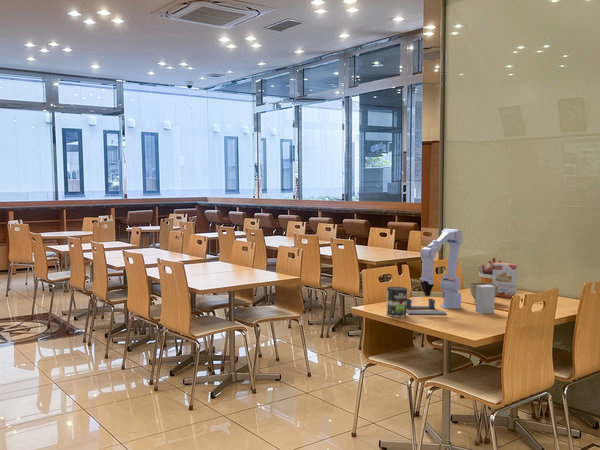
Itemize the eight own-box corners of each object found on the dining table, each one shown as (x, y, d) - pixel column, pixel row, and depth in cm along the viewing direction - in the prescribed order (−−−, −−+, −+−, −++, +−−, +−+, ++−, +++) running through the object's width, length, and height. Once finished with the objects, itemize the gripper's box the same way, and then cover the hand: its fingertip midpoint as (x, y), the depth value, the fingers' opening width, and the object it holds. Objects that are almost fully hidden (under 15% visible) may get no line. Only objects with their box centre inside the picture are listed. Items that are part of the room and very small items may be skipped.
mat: (442, 312, 305) (442, 310, 305) (446, 315, 298) (446, 313, 298) (405, 311, 303) (405, 310, 303) (409, 314, 296) (409, 313, 296)
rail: (442, 296, 302) (442, 291, 302) (444, 297, 299) (444, 292, 299) (409, 296, 301) (409, 291, 300) (410, 297, 298) (410, 291, 298)
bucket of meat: (500, 291, 372) (502, 261, 371) (475, 289, 380) (476, 259, 379) (506, 287, 389) (507, 258, 388) (481, 285, 397) (482, 256, 396)
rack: (432, 307, 315) (433, 298, 315) (435, 309, 311) (435, 300, 311) (404, 307, 314) (404, 298, 314) (406, 309, 310) (406, 300, 310)
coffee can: (409, 316, 292) (410, 289, 291) (391, 317, 289) (392, 290, 288) (400, 312, 302) (401, 286, 301) (383, 313, 299) (383, 286, 298)
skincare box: (488, 311, 310) (489, 284, 309) (494, 313, 304) (495, 286, 303) (474, 311, 307) (475, 284, 307) (480, 314, 302) (482, 286, 301)
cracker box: (491, 296, 355) (492, 262, 354) (493, 294, 361) (494, 262, 359) (514, 298, 348) (516, 264, 347) (516, 297, 353) (518, 263, 352)
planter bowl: (494, 300, 340) (494, 282, 340) (500, 306, 324) (501, 287, 324) (466, 299, 342) (467, 281, 341) (472, 305, 326) (472, 286, 325)
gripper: (416, 268, 306) (415, 293, 307) (424, 272, 292) (423, 298, 292) (429, 268, 306) (428, 293, 307) (437, 272, 292) (436, 298, 293)
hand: (426, 295), depth 300 cm, fingers closed on rail, 2 cm apart
